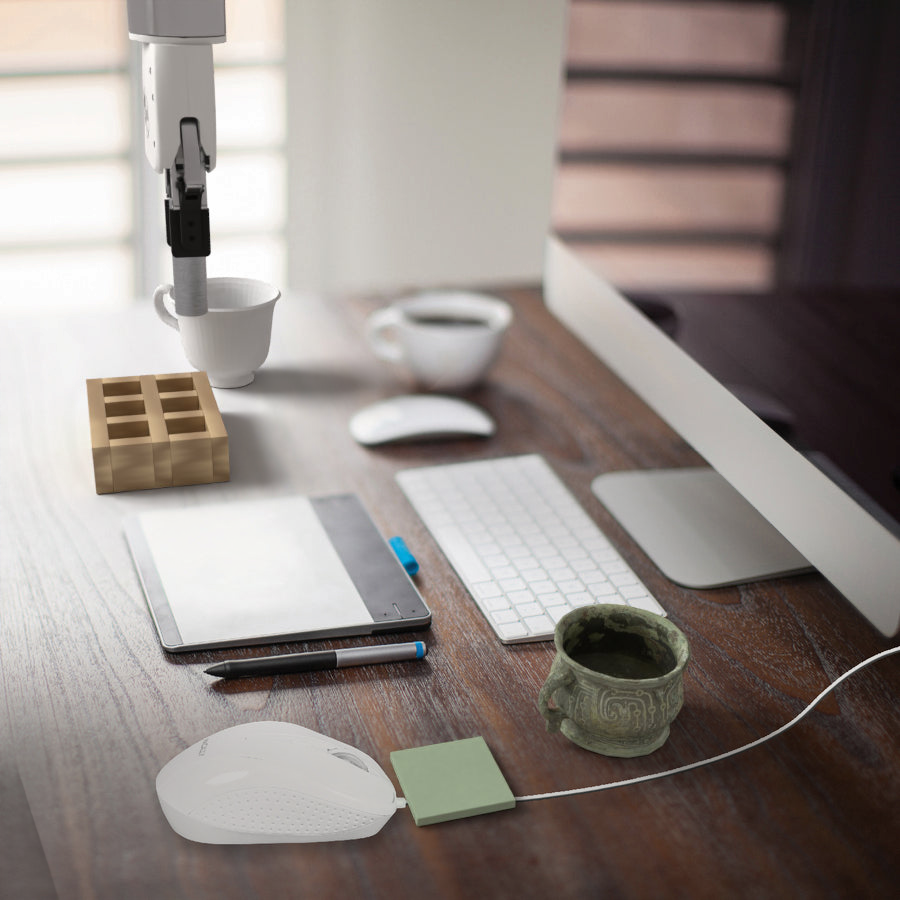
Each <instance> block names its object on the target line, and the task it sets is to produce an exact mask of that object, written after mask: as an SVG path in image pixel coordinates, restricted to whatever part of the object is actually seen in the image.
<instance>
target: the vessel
mask: <svg viewBox="0 0 900 900" xmlns="http://www.w3.org/2000/svg"><path fill="white" fill-rule="evenodd" d="M553 642H554V646H555V648H556V651H557V652H556V653H555V656H554V658H553V660H552V662H551V666H550V672H549V673H548V675H547V677H546V679H545V680H544V683H543V684H542V686H541V688H540V690H539V693H538V697H537V698H538V699H537V707H538V708H537V709H538V710H539V714H540V715H541V717H542V718H545V722H546V724H545V731H546V732H547V733H548V734H550V735H552V734H557V733H559V732H561V733H562V734H563V735H564V736H565V737H566V738H567V739H568V740H570V741H571V742H573V744H575V745H577V746H579V747H581V748H583V749H585V750H587V751H590V752H593V753H596V754H600V755H602V756H605V757H617V758H624V759H625V758H627V759H630V758H635V757H642V756H648V755H650V754H651V753H653V752H655V751H656V750H658V749H660V748H661V747H663V745H664V744H665V742H666V741H667V739H668V737H669V736H670V734H671V725H670V724H672V723H673V722H674V721H675V720H676V718H677V716H678V715H679V713H680V711H681V709H682V708H683V704H684V700H685V698H684V696H685V692H684V676H683V675H684V674H685V672H687V671H686V670H687V669H688V667H689V664H690V662H691V657H692V644H691V643H690V640H689V639H688V635H686V634H685V633H684V632H682V631H681V630H680V629H679V627H678V626H676V625H675V623H673V622H672V621H671V620H669V619H668V618H665V617H664V616H662V615H660V614H658V613H656V612H653V611H650V610H648V609H643V608H639V607H635V606H631V605H628V604H617V603H606V602H605V603H598V604H597V603H596V604H589V605H584V606H580V607H576V608H574V609H572V610H571V611H568V613H565V614H564V615H563V616H562V617H561V618H560V619H559V621H558V622H557V623H556V625H555V628H554V638H553ZM550 699H552V702H553V704H554V705H555V707H552V708H550V707H549V701H550Z"/></svg>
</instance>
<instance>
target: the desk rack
mask: <svg viewBox="0 0 900 900" xmlns="http://www.w3.org/2000/svg"><path fill="white" fill-rule="evenodd" d="M85 380H86V381H85V384H86V396H87V408H88V419H89V430H90V432H89V433H90V444H91V453H92V454H91V455H92V465H93V473H94V485H95V494H96V495H101V494H111V493H122V492H131V491H141V490H152V489H162V488H172V487H173V488H174V487H184V486H194V485H204V484H213V483H222V482H230V481H231V470H230V447H229V446H230V445H229V443H230V442H229V435H228V432H227V428H226V426H225V423H224V420H223V417H222V414H221V412H220V407H219V405H218V402H217V400H216V397H215V394H214V391H213V387H212V386H211V385H210V382H209V379H208V376H207V374H206V371H198V370H197V371H188V372H186V371H185V372H171V373H157V374H156V373H155V374H141V375H129V376H128V375H126V376H116V377H114V376H113V377H99V378H86V379H85Z"/></svg>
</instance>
